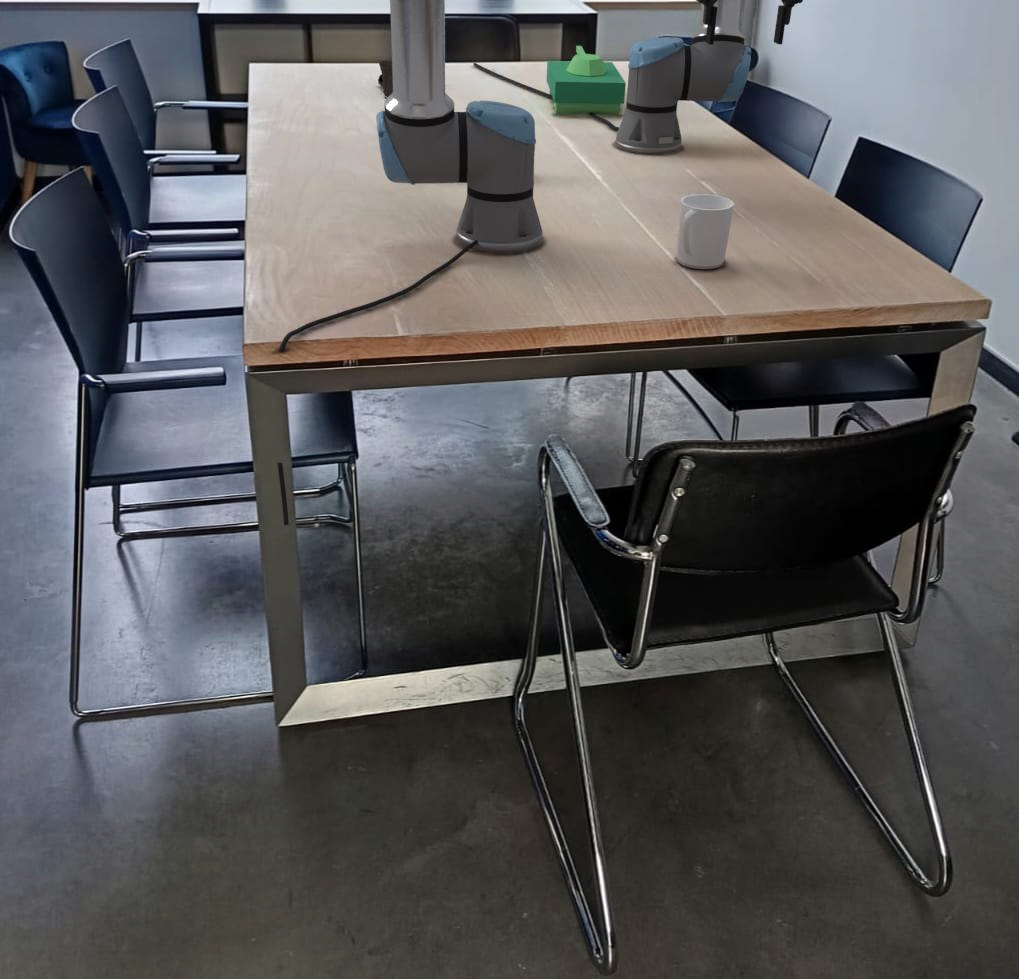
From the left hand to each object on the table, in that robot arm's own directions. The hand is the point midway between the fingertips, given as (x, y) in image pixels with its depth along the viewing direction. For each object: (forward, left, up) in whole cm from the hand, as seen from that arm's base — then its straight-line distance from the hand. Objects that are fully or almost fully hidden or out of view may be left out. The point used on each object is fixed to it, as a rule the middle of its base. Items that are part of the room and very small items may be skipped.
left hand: (416, 58), depth 218 cm
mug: (-44, -57, -23) cm, 76 cm away
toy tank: (+77, -29, -23) cm, 85 cm away
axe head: (+80, +20, -23) cm, 86 cm away
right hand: (0, -64, +5) cm, 64 cm away
